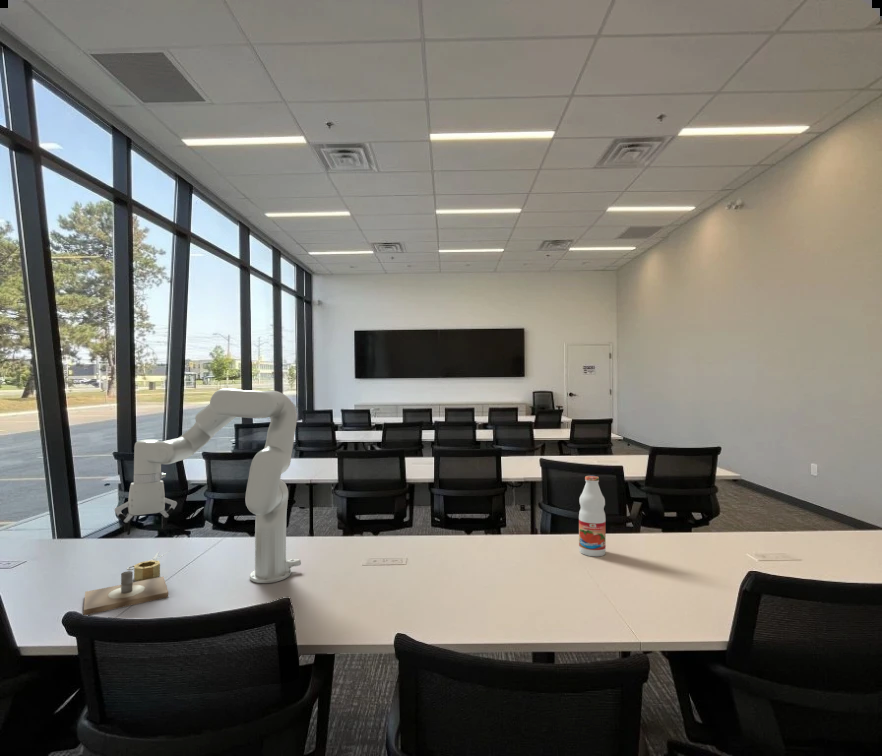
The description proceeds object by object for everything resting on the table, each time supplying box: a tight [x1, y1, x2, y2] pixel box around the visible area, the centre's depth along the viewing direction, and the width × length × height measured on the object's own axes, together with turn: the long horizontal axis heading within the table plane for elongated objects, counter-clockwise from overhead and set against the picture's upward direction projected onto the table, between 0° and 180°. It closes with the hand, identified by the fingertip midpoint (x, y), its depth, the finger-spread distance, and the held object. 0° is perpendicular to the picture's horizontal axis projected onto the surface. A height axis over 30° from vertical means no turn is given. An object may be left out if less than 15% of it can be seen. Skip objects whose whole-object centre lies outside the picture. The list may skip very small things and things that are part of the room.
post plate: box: [83, 570, 169, 616], centre depth 143 cm, size 20×14×7 cm
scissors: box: [126, 550, 171, 571], centre depth 173 cm, size 11×1×20 cm
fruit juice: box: [578, 475, 607, 557], centre depth 181 cm, size 9×9×28 cm
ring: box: [133, 559, 161, 582], centre depth 158 cm, size 7×7×4 cm
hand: (146, 531), depth 158 cm, fingers open, 9 cm apart
